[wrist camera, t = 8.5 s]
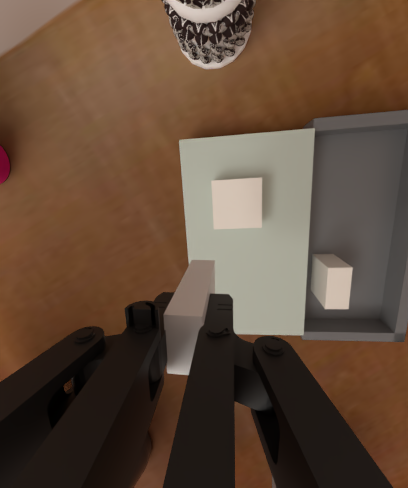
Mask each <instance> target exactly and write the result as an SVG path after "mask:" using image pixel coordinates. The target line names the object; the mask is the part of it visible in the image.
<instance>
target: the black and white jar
mask: <svg viewBox="0 0 408 488" xmlns="http://www.w3.org/2000/svg"><path fill="white" fill-rule="evenodd" d="M162 2H163V3H164V4H165V6H164V7H165V11H166V13H167V15H168V16H169V22H170V25H171V27H172V29H173V33H174V35H175V37H176V38H177V40H178V42H179V46H180V48H181V50H182V53H183V54H184V55H185V56H186V57H187V58H188V59H189V60H190V62H191V63H192V64H194V65H196V66H199V67H201V68H203V69H220V68H222V67H224V66H226V65H228V64H230V63H232V62H233V61H234V60H235V59H236V58H237V57H238V56H239V54H240V53H241V52H242V51H243V50H244V49H245V46H246V43H247V41H248V38H249V36H250V33H251V27H252V18H253V17H254V11H253V9H252V8H254V7H255V4H256V0H162Z"/></svg>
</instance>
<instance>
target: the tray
mask: <svg viewBox="0 0 408 488" xmlns="http://www.w3.org/2000/svg"><path fill="white" fill-rule="evenodd" d="M311 128H315V136H314V155H313V173H312V191H311V210H310V228H309V246H308V264H307V283H306V301H305V319H304V335H300V336H301V338H302V340H339V341H382V342H404V340H405V334H406V329H407V323H408V110H401V111H390V112H379V113H368V114H357V115H347V116H336V117H325V118H314V119H313V120H311V121H310V122H309V123H308V124H306V125H305V126H304V127H303V129H311ZM313 254H334V255H335V256H337V257H338V258H340V259H341V260H343V261H344V262H345V263H347V264H348V265H350V266H351V267H353V270H352V280H351V289H350V299H349V309H325V308H324V307H323V306H322V304H321V303H320V302H319V300H318V299H317V298H316V296H315V295H314V294H313V292H312V291H311V274H312V255H313Z"/></svg>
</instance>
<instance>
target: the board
mask: <svg viewBox="0 0 408 488" xmlns="http://www.w3.org/2000/svg"><path fill="white" fill-rule="evenodd" d="M314 136H315V128H311V129H299V130H288V131H276V132H265V133H253V134H242V135H230V136H219V137H208V138H196V139H185V140H179V147H180V159H181V172H182V185H183V197H184V210H185V222H186V235H187V247H188V260H189V265H190V263H191V261H192V260H215V294H229V295H230V296H231V297H232V298H233V329H234V332H235V334H260V335H304V319H305V301H306V283H307V264H308V246H309V228H310V210H311V191H312V173H313V155H314ZM261 177H262V228H239V229H214V225H213V205H212V185H211V181H214V180H230V179H245V178H261Z"/></svg>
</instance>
